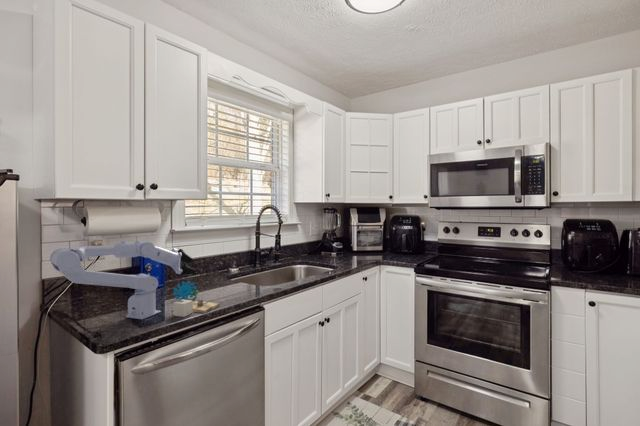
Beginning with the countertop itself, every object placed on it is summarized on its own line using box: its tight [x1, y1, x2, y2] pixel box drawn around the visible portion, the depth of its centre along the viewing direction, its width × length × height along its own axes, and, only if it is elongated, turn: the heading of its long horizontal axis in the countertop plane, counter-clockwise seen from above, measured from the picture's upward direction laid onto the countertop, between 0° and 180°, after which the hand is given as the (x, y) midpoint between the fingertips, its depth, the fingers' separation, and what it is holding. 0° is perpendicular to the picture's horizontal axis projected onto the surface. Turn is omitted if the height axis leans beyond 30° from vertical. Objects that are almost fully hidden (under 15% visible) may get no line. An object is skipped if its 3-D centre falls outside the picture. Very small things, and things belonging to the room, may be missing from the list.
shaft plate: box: [193, 298, 221, 314], centre depth 138 cm, size 10×12×4 cm
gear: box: [172, 280, 199, 300], centre depth 153 cm, size 11×6×10 cm
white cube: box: [173, 298, 194, 318], centre depth 130 cm, size 5×5×5 cm
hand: (193, 266), depth 145 cm, fingers open, 7 cm apart
